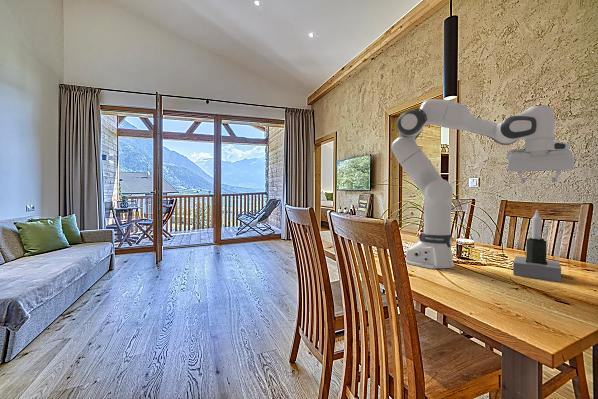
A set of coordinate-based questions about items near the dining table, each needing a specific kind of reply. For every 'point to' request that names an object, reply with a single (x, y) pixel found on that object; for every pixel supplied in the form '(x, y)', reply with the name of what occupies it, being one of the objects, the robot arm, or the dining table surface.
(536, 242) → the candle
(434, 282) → the dining table surface
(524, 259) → the holder
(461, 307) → the dining table surface
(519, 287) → the dining table surface
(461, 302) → the dining table surface
